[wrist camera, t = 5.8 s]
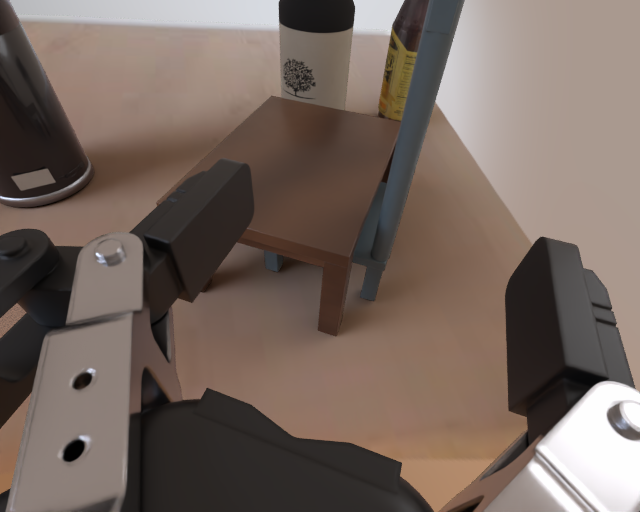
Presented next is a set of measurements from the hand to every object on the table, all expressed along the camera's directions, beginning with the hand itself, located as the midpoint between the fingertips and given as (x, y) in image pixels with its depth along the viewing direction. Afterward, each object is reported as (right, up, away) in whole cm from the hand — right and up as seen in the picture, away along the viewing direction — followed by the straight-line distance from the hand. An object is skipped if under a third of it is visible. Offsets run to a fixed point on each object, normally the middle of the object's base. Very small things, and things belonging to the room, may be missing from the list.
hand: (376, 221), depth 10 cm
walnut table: (-4, +1, +24) cm, 24 cm away
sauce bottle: (+10, +19, +41) cm, 46 cm away
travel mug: (-3, +15, +37) cm, 40 cm away
